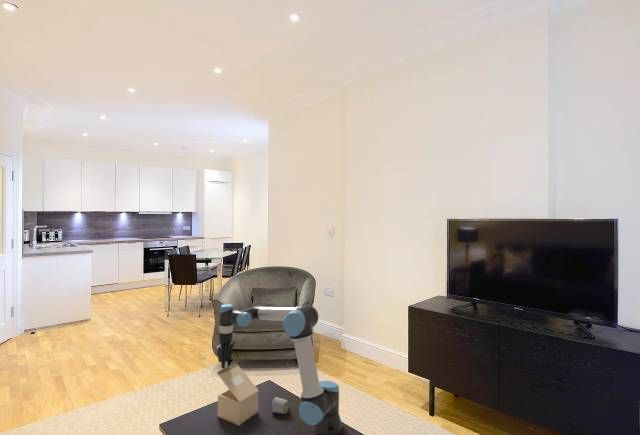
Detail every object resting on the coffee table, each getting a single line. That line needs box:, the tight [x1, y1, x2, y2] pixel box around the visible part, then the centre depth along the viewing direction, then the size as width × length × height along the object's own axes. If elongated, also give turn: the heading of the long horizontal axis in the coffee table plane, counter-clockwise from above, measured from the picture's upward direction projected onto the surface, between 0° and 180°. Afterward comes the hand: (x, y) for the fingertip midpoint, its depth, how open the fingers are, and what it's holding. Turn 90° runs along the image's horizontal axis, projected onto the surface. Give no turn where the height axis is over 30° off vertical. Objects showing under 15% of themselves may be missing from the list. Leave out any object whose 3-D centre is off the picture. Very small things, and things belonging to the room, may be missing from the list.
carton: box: [217, 388, 259, 426], centre depth 196 cm, size 16×15×12 cm
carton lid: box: [216, 362, 259, 403], centre depth 196 cm, size 21×15×1 cm
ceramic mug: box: [271, 396, 290, 415], centre depth 200 cm, size 11×8×8 cm
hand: (224, 372), depth 201 cm, fingers closed
